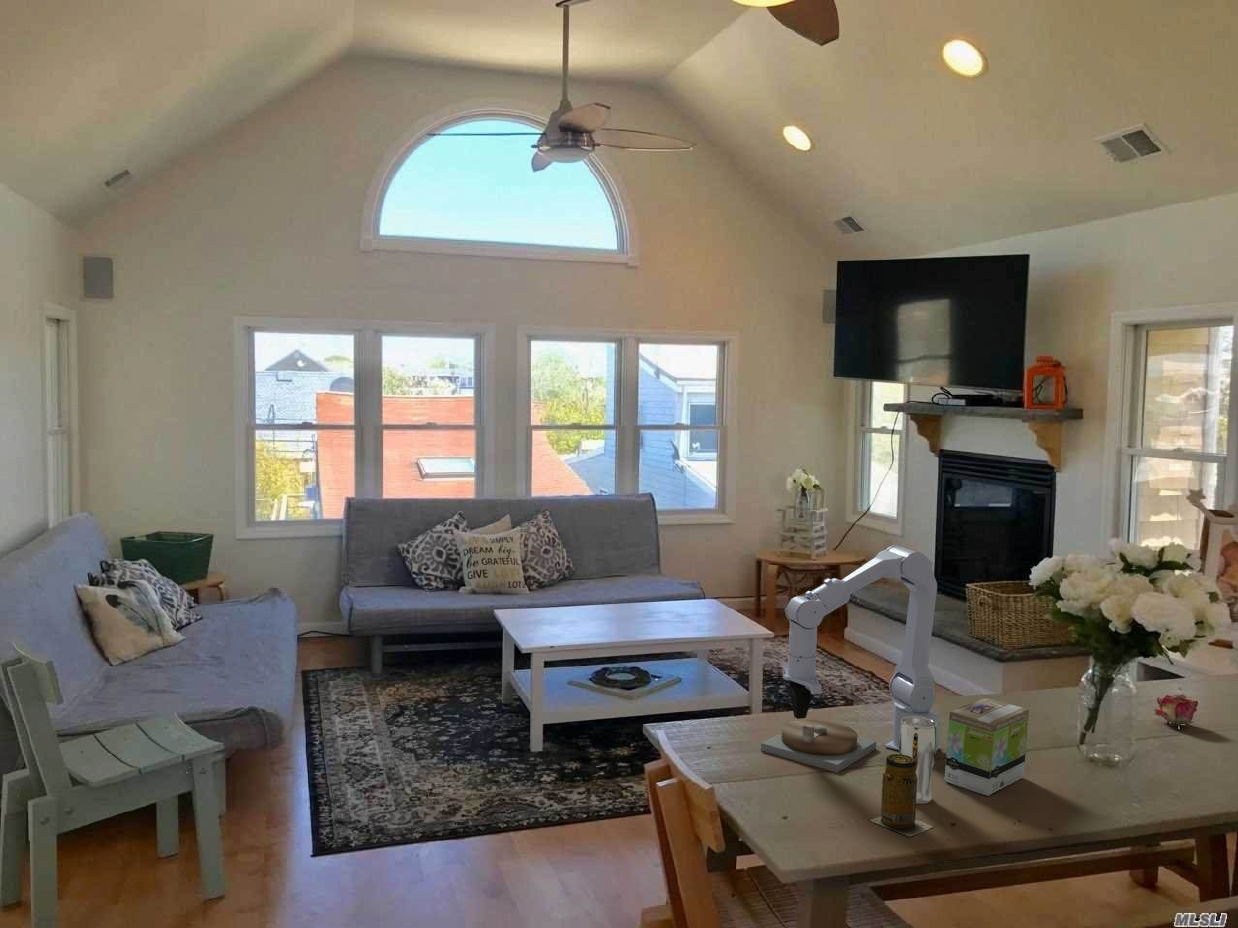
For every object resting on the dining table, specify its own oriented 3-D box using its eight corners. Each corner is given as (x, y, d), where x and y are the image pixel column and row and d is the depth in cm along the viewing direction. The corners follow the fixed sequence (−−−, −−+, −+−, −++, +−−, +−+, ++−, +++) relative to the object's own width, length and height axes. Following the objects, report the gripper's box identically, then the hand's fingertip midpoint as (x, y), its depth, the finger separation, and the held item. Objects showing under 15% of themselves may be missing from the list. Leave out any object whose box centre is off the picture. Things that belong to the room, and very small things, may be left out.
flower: (1209, 728, 236) (1205, 695, 240) (1170, 719, 236) (1167, 686, 240) (1183, 739, 245) (1181, 707, 249) (1146, 730, 245) (1144, 698, 248)
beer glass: (928, 808, 193) (932, 730, 192) (891, 799, 197) (895, 722, 196) (938, 795, 199) (942, 720, 198) (902, 787, 203) (906, 713, 201)
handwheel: (798, 723, 233) (799, 701, 232) (867, 738, 224) (868, 715, 224) (769, 744, 219) (770, 721, 219) (841, 760, 211) (842, 736, 210)
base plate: (875, 748, 223) (876, 741, 223) (837, 772, 209) (837, 764, 209) (802, 729, 235) (802, 721, 235) (760, 750, 221) (761, 742, 221)
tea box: (990, 798, 199) (995, 723, 197) (942, 782, 206) (946, 710, 205) (1025, 778, 209) (1030, 707, 208) (979, 763, 216) (983, 695, 215)
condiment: (893, 811, 192) (897, 748, 191) (933, 827, 185) (936, 762, 184) (869, 821, 187) (872, 757, 186) (909, 838, 181) (912, 772, 179)
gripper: (770, 646, 222) (768, 707, 223) (800, 665, 208) (797, 730, 209) (800, 644, 224) (798, 705, 225) (831, 663, 210) (829, 727, 211)
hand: (800, 717), depth 217 cm, fingers closed
